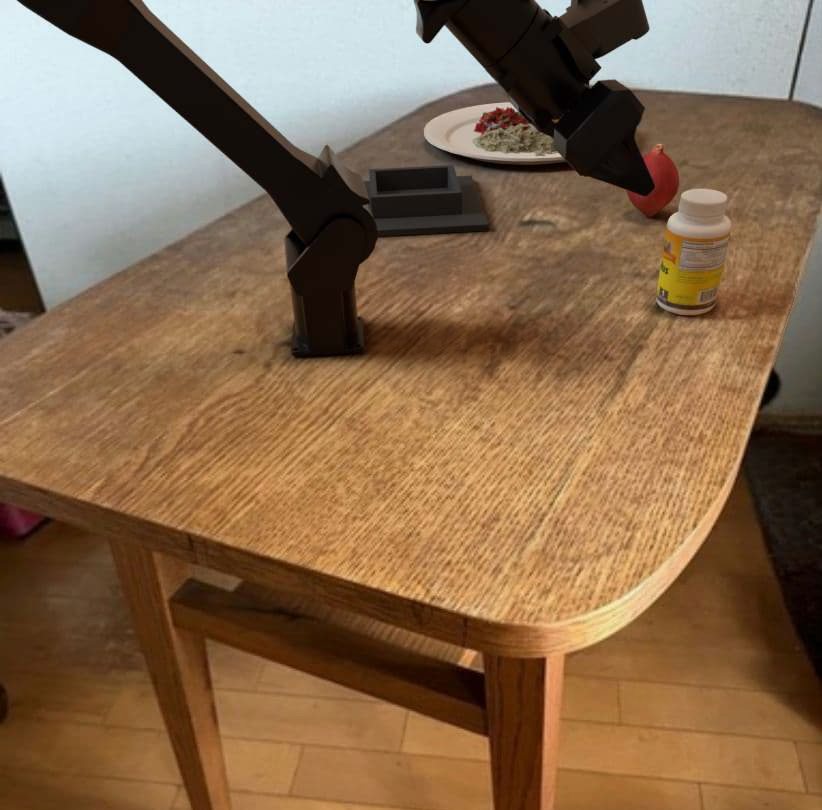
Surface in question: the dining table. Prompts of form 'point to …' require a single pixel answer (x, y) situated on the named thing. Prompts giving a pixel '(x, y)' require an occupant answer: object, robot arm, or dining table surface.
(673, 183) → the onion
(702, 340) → the dining table surface
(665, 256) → the supplement bottle
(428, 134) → the plated food
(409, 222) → the dock pad
